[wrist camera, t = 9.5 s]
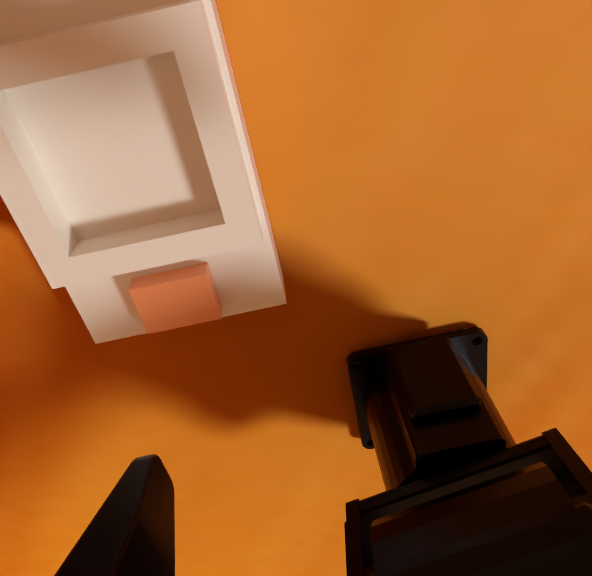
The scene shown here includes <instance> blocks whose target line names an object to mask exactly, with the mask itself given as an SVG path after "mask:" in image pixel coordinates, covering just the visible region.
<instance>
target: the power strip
mask: <svg viewBox="0 0 592 576" xmlns="http://www.w3.org/2000/svg"><path fill="white" fill-rule="evenodd" d="M0 195H1V197H2V199H3V201H4V203H5V204H6V206H7V208H8V210H9V212H10V213H11V215H12V217H13V219H14V221H15V222H16V224H17V226H18V228H19V230H20V232H21V233H22V235H23V237H24V239H25V241H26V242H27V244H28V246H29V248H30V250H31V251H32V253H33V255H34V257H35V259H36V260H37V262H38V264H39V266H40V268H41V269H42V271H43V273H44V275H45V277H46V279H47V280H48V282H49V284H50V286H51V288H52V289H56V288H60V287H66V289H67V291H68V293H69V295H70V297H71V299H72V301H73V302H74V304H75V306H76V308H77V310H78V312H79V314H80V316H81V317H82V319H83V321H84V323H85V325H86V327H87V329H88V330H89V332H90V334H91V336H92V338H93V340H94V342H95V344H98V343H102V342H107V341H112V340H116V339H121V338H126V337H131V336H135V335H140V334H145V333H148V334H152V333H157V332H162V331H166V330H171V329H176V328H181V327H185V326H190V325H195V324H200V323H204V322H209V321H214V320H219V319H222V317H226V316H230V315H235V314H240V313H245V312H249V311H254V310H259V309H264V308H268V307H273V306H278V305H283V304H287V303H286V295H285V287H284V280H283V274H282V270H281V266H280V262H279V258H278V254H277V250H276V246H275V242H274V237H273V233H272V229H271V225H270V221H269V217H268V213H267V209H266V205H265V201H264V197H263V193H262V189H261V185H260V181H259V176H258V172H257V168H256V164H255V160H254V156H253V152H252V148H251V144H250V140H249V136H248V132H247V128H246V124H245V120H244V115H243V111H242V107H241V103H240V99H239V95H238V91H237V87H236V83H235V79H234V75H233V71H232V67H231V63H230V59H229V54H228V50H227V46H226V42H225V38H224V34H223V30H222V26H221V22H220V18H219V14H218V10H217V6H216V2H215V0H0Z"/></svg>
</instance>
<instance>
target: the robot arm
mask: <svg viewBox="0 0 592 576" xmlns="http://www.w3.org/2000/svg"><path fill="white" fill-rule="evenodd" d="M476 337H478V338H477V339H475V340H473V339H474V338H476ZM487 342H488V339H487V336H486V334H485V332H484V331H483V330H482V329H481V328H478V327H475V328H469V329H464V330H459V331H454V332H450V333H445V334H440V335H435V336H430V337H425V338H421V339H416V340H411V341H406V342H401V343H396V344H392V345H387V346H382V347H377V348H372V349H367V350H363V351H358V352H354V353H352V354H350V355H349V356H348V358H347V366H348V372H349V377H350V382H351V388H352V393H353V399H354V404H355V410H356V415H357V420H358V426H359V431H360V437H361V441H362V445H363V447H365V448H367V449H374V448H375V451H376V455H377V458H378V462H379V466H380V470H381V473H382V477H383V481H384V484H385V488H386V491H385V492H382V493H379V494H377V495H374V496H371V497H368V498H365V499H363V500H359V499H356V500H353V501H350V502H347V503H346V522H345V545H346V568H347V576H592V472H591V471H590V470H589V468H588V467H587V466H586V465H585V463H584V462H583V461H582V460H581V458H580V457H579V456H578V455H577V454H576V452H575V451H574V450H573V449H572V447H571V446H570V445H569V444H568V442H567V441H566V440H565V439H564V437H563V436H562V435H561V434H560V432H559V431H558V430H557V429H556V428H553V429H550V430H548V431H545V432H542V435H541V436H538V437H535V438H533V439H530V440H527V441H524V442H521V443H519V444H516V443H515V441H514V439H513V437H512V436H511V434H510V432H509V430H508V428H507V426H506V425H505V423H504V421H503V419H502V417H501V416H500V414H499V412H498V410H497V408H496V407H495V405H494V403H493V401H492V399H491V397H490V396H489V394H488V392H487ZM358 361H361V363H359V364H355V363H356V362H358ZM54 576H175V520H174V487H173V483H172V480H171V478H170V476H169V474H168V472H167V470H166V468H165V467H164V465H163V463H162V461H161V459H160V458H159V456H157V455H156V454H152V455H147V456H143V457H138V458H136V459H134V460H133V461H132V462H131V464H130V465H129V467H128V468H127V470H126V471H125V473H124V474H123V476H122V477H121V478H120V480H119V481H118V483H117V484H116V486H115V487H114V489H113V490H112V492H111V493H110V495H109V496H108V498H107V499H106V500H105V502H104V503H103V505H102V506H101V508H100V509H99V511H98V512H97V514H96V515H95V517H94V518H93V520H92V521H91V522H90V524H89V525H88V527H87V528H86V530H85V531H84V533H83V534H82V536H81V537H80V539H79V540H78V542H77V543H76V544H75V546H74V547H73V549H72V550H71V552H70V553H69V555H68V556H67V558H66V559H65V561H64V562H63V563H62V565H61V566H60V568H59V569H58V571H57V572H56V574H55V575H54Z"/></svg>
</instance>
